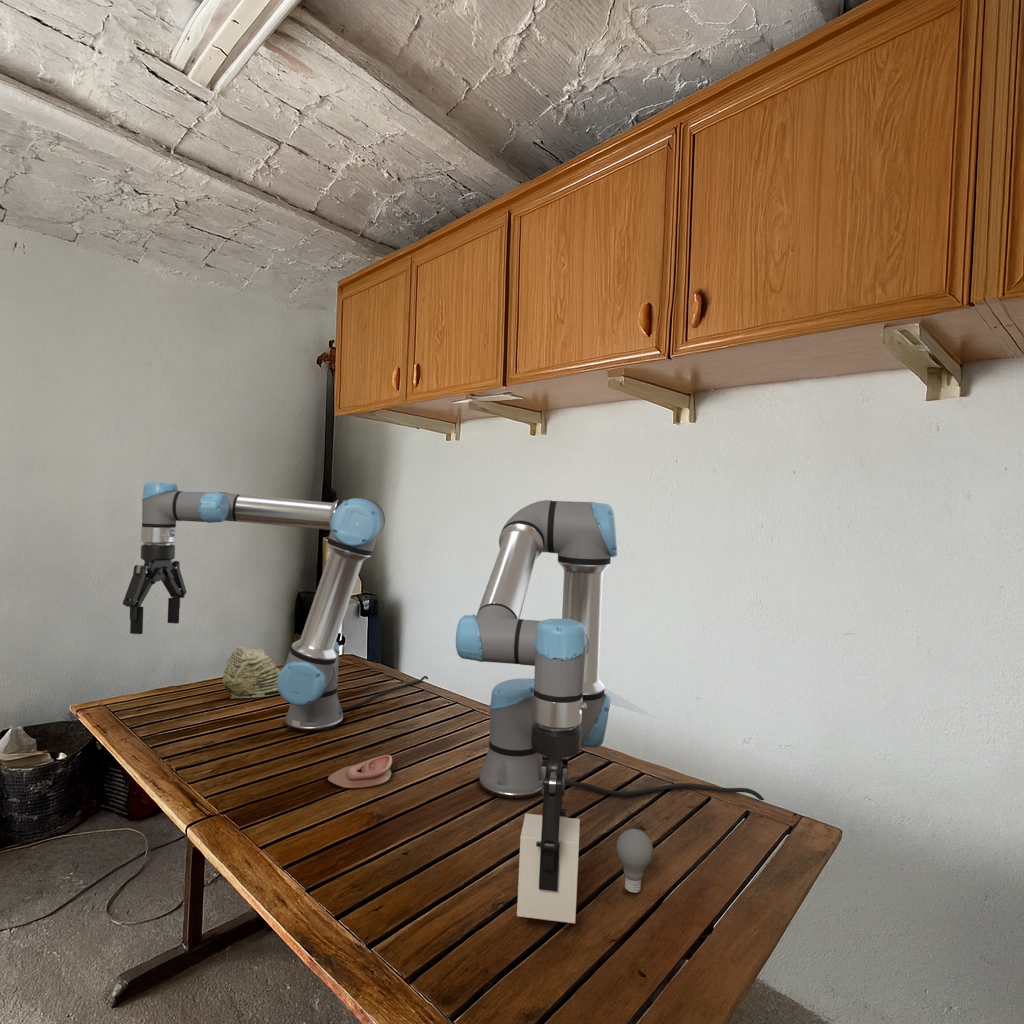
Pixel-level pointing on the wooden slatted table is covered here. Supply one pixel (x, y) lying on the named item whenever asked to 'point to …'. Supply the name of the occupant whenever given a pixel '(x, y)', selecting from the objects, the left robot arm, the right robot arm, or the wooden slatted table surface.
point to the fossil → (250, 674)
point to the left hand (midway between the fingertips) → (155, 628)
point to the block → (529, 894)
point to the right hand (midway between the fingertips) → (549, 873)
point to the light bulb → (634, 857)
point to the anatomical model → (364, 773)
